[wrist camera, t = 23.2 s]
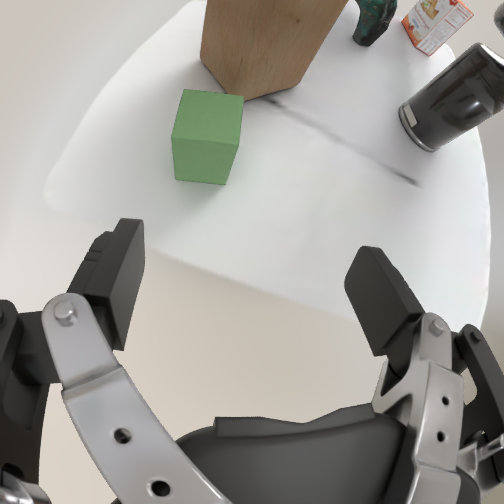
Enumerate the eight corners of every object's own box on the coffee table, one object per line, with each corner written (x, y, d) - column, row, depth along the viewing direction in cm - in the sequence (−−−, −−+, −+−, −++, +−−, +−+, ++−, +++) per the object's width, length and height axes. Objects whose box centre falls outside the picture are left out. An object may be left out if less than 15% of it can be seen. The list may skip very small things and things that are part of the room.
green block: (230, 143, 27) (244, 96, 20) (225, 185, 27) (238, 145, 19) (183, 137, 26) (183, 89, 19) (175, 180, 26) (171, 137, 18)
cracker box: (399, 21, 45) (436, -22, 25) (415, 30, 46) (452, -9, 26) (413, 46, 42) (458, 0, 22) (430, 57, 43) (475, 15, 23)
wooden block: (234, 108, 28) (285, -45, 9) (196, 59, 28) (217, -72, 9) (299, 88, 31) (371, -27, 12) (259, 44, 31) (302, -65, 12)
